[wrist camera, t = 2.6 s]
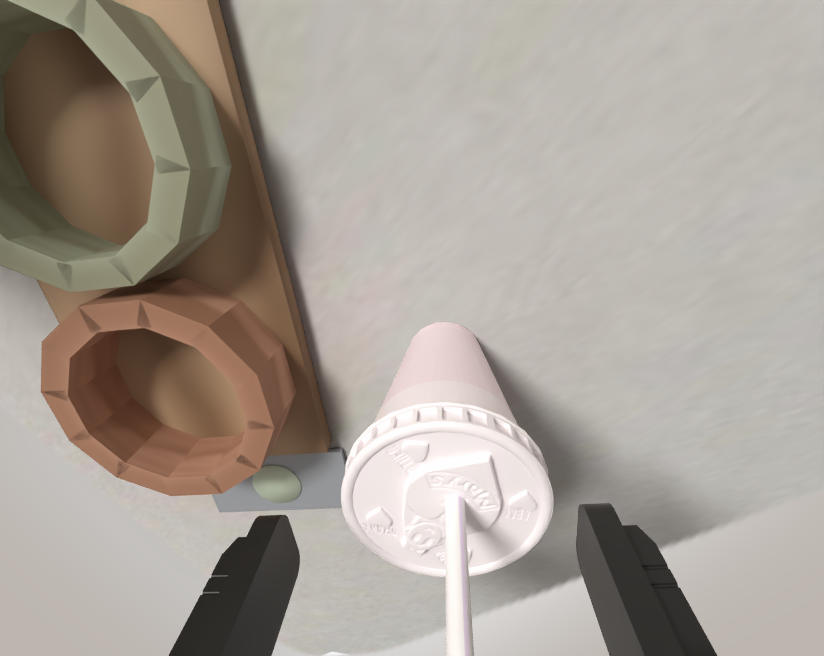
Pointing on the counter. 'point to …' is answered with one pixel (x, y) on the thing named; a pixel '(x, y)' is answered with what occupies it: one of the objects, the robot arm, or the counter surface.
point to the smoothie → (447, 474)
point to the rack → (150, 243)
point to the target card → (289, 484)
